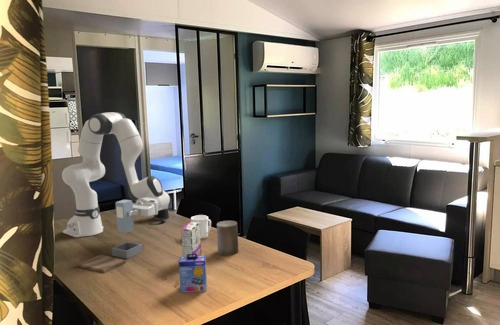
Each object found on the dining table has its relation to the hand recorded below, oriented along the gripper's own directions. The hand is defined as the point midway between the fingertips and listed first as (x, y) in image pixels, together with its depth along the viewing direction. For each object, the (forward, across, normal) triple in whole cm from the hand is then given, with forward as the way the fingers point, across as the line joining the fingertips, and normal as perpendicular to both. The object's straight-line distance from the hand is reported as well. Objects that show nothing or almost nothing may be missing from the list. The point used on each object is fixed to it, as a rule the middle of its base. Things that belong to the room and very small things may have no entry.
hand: (123, 213), depth 188 cm
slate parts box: (-1, 0, +8) cm, 9 cm away
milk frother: (-52, -23, +20) cm, 60 cm away
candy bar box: (-6, +34, +20) cm, 40 cm away
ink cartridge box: (+16, +51, +20) cm, 57 cm away
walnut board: (+14, 0, +20) cm, 24 cm away
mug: (-36, +18, +20) cm, 45 cm away
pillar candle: (-23, +42, +20) cm, 52 cm away
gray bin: (-1, 0, +20) cm, 20 cm away
